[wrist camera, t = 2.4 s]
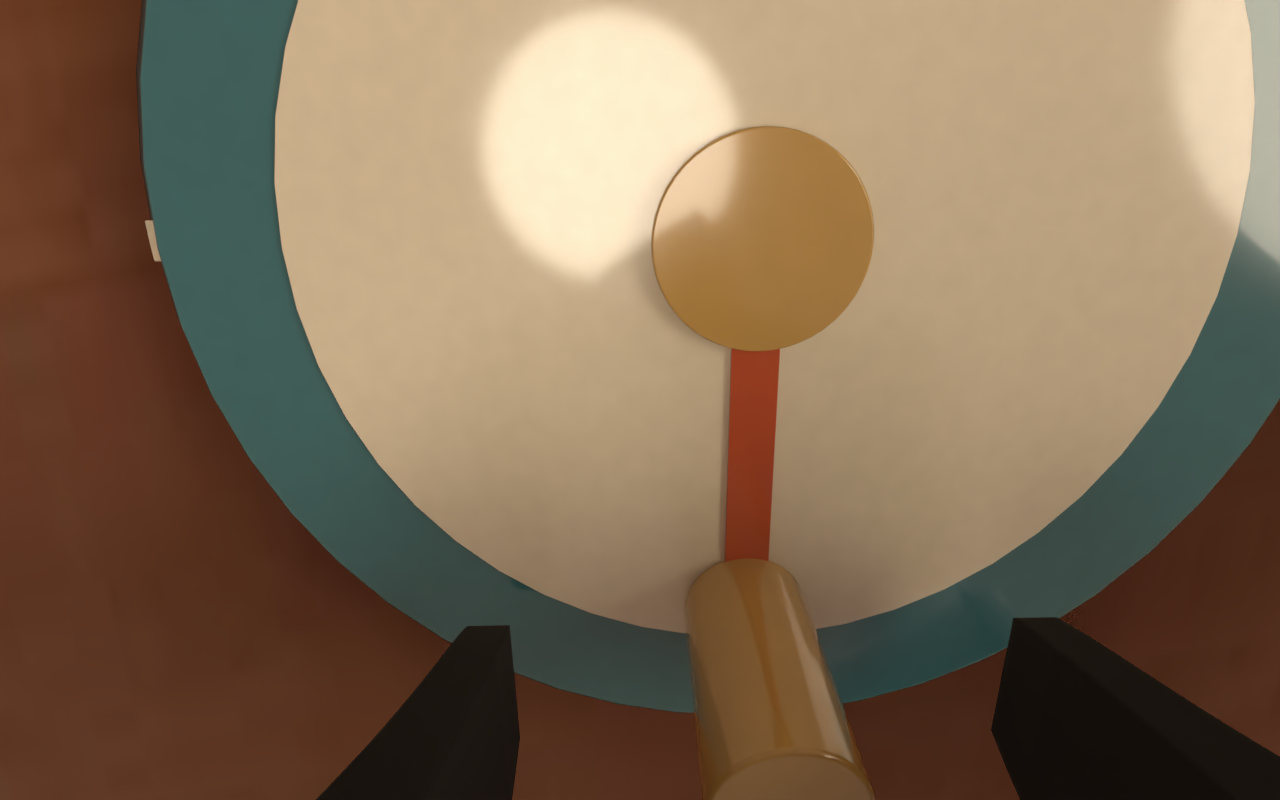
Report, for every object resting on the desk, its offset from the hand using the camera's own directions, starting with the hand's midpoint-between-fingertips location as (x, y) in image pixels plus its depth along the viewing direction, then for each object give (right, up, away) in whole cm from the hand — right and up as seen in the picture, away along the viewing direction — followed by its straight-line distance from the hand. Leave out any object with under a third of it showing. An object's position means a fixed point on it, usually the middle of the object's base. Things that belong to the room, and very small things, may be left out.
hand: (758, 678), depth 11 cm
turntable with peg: (0, +6, 0) cm, 6 cm away
